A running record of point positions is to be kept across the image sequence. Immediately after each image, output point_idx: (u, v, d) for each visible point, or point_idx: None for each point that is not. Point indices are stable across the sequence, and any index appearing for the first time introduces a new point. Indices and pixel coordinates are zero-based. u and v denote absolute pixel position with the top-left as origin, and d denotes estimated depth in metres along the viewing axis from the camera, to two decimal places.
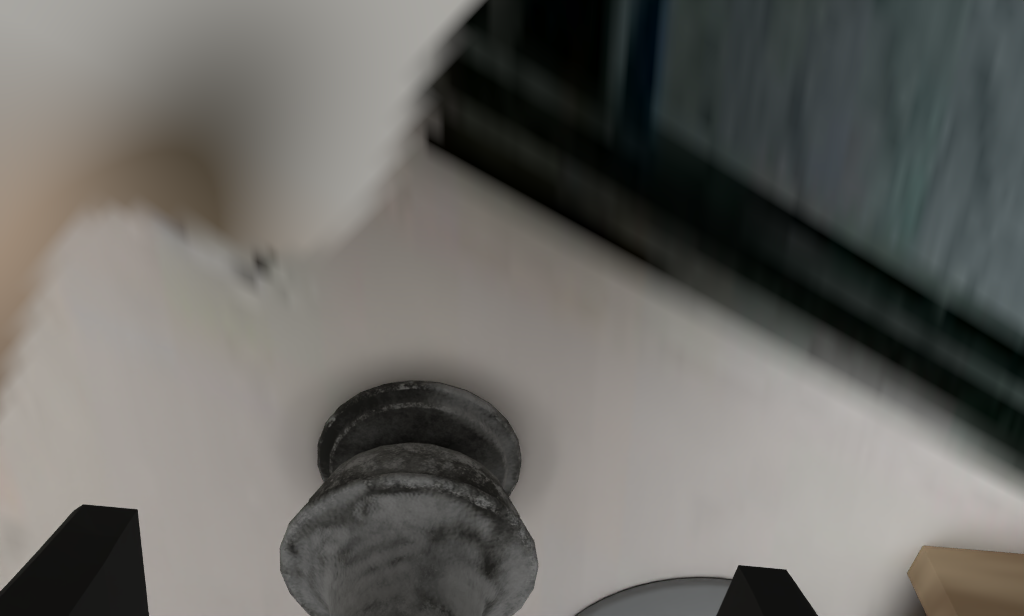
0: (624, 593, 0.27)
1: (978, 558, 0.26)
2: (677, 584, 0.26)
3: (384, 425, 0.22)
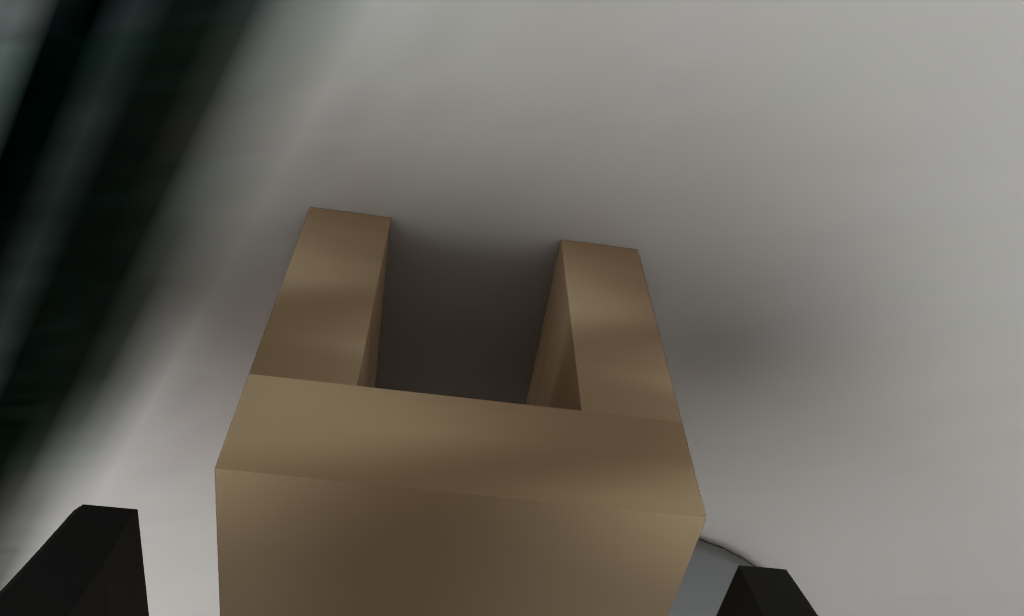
0: None
1: None
2: None
3: None
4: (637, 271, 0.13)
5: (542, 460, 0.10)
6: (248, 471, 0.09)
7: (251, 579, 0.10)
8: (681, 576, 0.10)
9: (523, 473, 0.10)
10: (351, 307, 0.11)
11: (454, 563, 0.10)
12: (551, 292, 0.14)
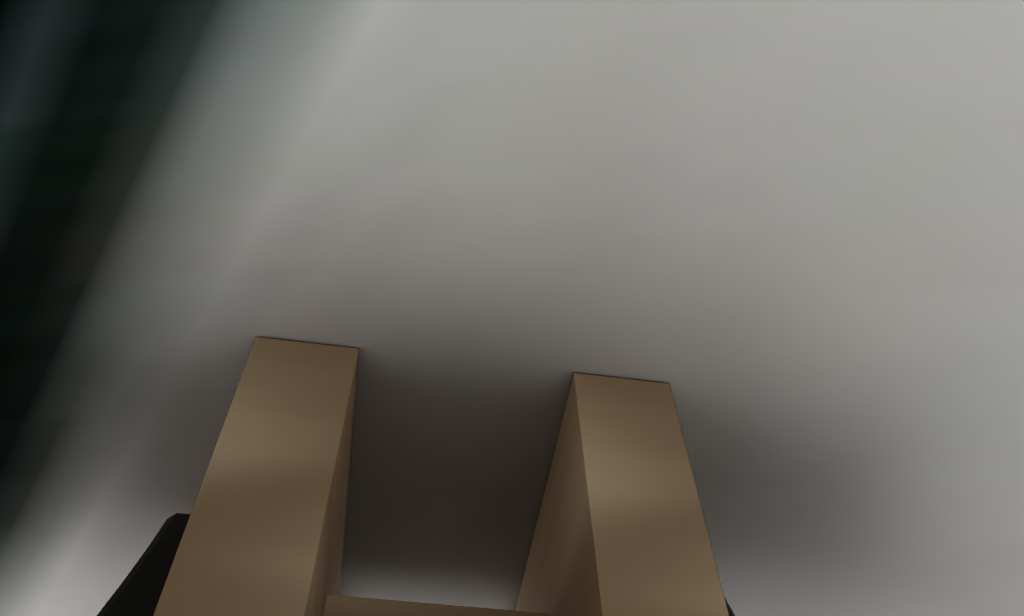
0: None
1: None
2: None
3: None
4: (670, 419, 0.11)
5: None
6: None
7: None
8: None
9: None
10: (299, 500, 0.09)
11: None
12: (561, 434, 0.11)
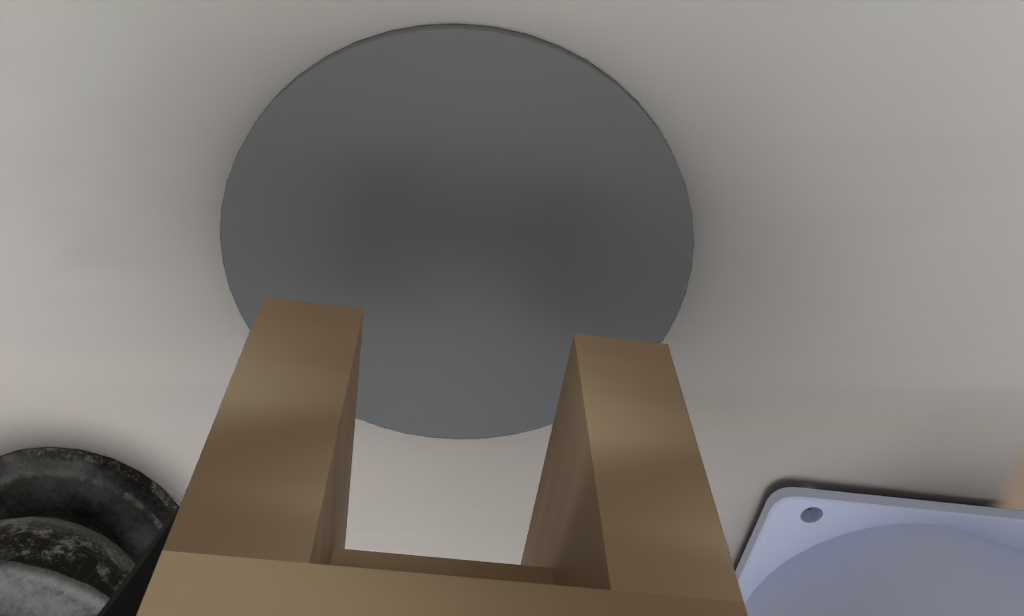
0: None
1: None
2: None
3: None
4: (668, 375, 0.11)
5: None
6: None
7: None
8: None
9: None
10: (308, 440, 0.09)
11: None
12: (562, 395, 0.12)
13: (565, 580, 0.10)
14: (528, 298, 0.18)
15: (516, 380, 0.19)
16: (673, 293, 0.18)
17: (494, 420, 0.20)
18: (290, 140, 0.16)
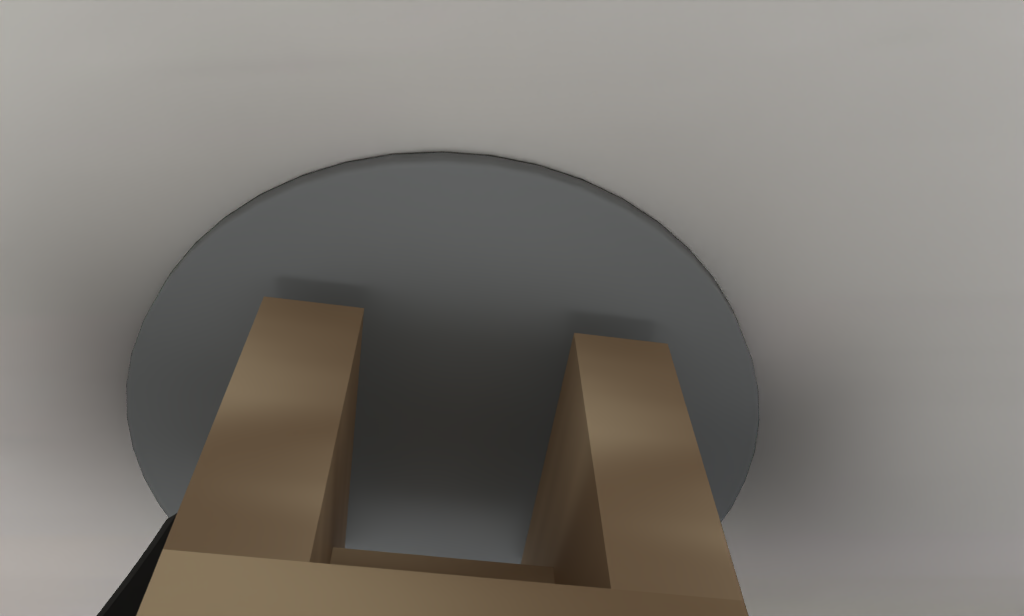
0: None
1: None
2: None
3: None
4: (668, 375, 0.11)
5: None
6: None
7: None
8: None
9: None
10: (308, 439, 0.09)
11: None
12: (562, 395, 0.12)
13: (565, 579, 0.10)
14: None
15: None
16: (729, 481, 0.14)
17: None
18: (215, 303, 0.12)
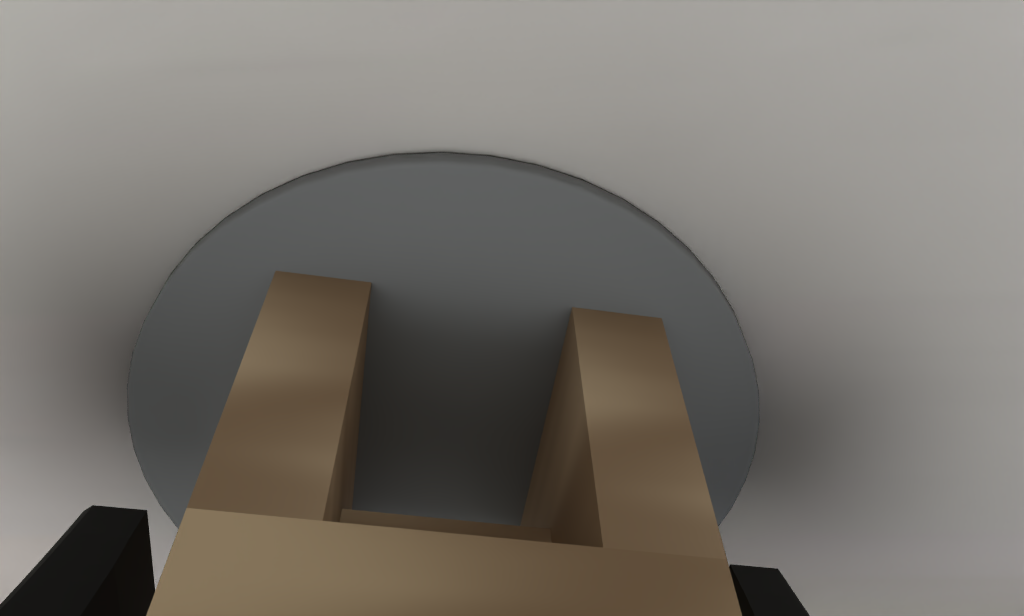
0: None
1: None
2: None
3: None
4: (662, 347, 0.11)
5: None
6: None
7: None
8: None
9: None
10: (319, 407, 0.09)
11: None
12: (560, 366, 0.12)
13: (561, 540, 0.10)
14: None
15: None
16: (729, 481, 0.14)
17: None
18: (215, 303, 0.12)
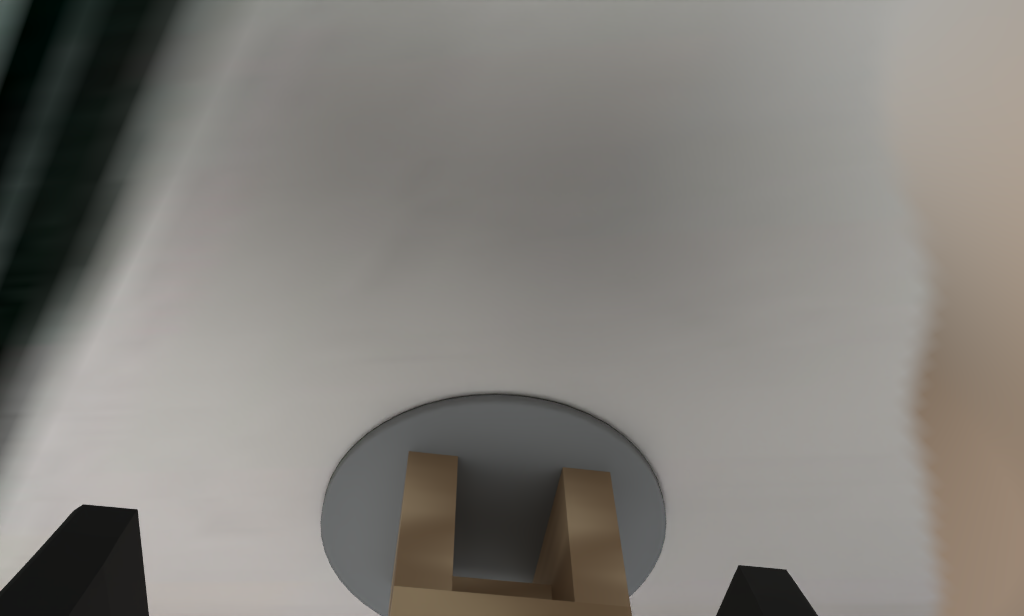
0: None
1: (395, 556, 0.24)
2: None
3: None
4: (609, 491, 0.22)
5: None
6: None
7: None
8: None
9: None
10: (442, 533, 0.20)
11: None
12: (556, 496, 0.23)
13: (556, 592, 0.21)
14: None
15: None
16: (651, 553, 0.24)
17: None
18: (375, 466, 0.22)
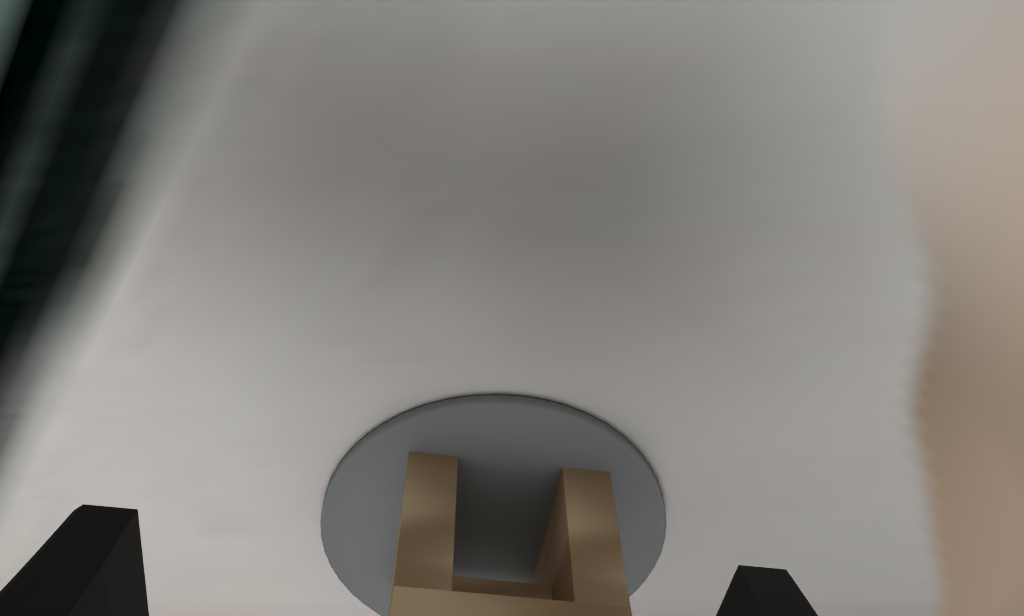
0: None
1: None
2: None
3: None
4: (609, 491, 0.22)
5: None
6: None
7: None
8: None
9: None
10: (442, 533, 0.20)
11: None
12: (556, 496, 0.23)
13: (556, 592, 0.21)
14: None
15: None
16: (651, 553, 0.24)
17: None
18: (375, 466, 0.22)
